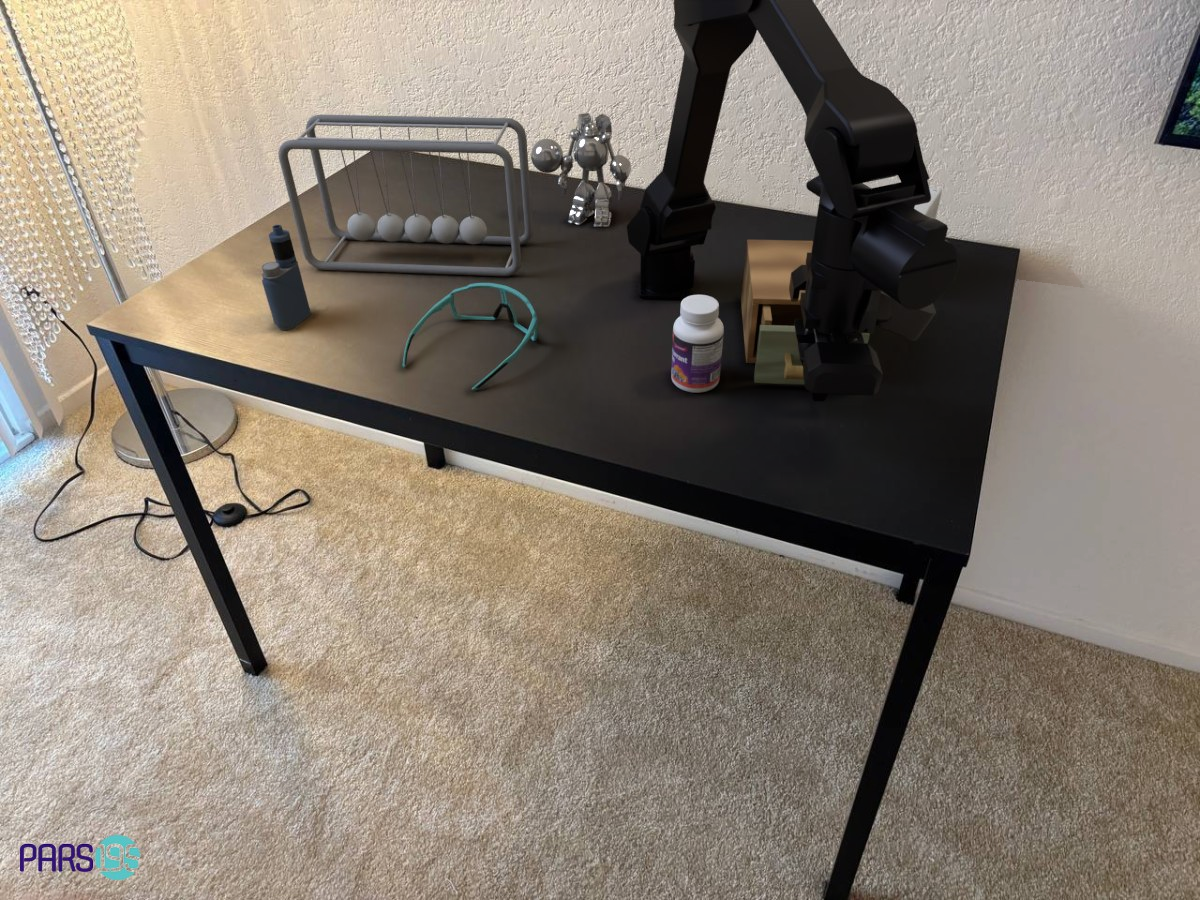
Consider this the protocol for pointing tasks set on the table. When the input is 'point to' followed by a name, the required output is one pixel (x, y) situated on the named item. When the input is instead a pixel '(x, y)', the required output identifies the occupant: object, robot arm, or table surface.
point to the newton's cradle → (415, 225)
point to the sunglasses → (511, 315)
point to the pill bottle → (697, 344)
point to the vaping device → (284, 283)
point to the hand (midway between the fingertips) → (818, 399)
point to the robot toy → (585, 167)
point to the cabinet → (768, 281)
